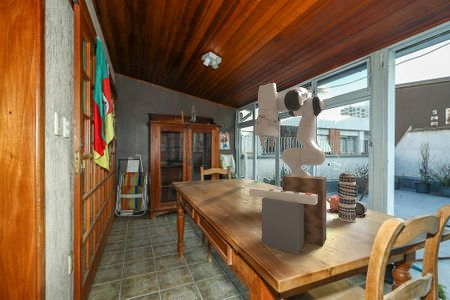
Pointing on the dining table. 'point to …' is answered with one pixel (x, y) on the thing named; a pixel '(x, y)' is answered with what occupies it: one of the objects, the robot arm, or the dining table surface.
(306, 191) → the walnut post
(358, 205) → the ceramic mug
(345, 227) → the dining table surface
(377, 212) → the dining table surface
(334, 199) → the teapot
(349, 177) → the decorative candle
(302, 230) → the dark grey block
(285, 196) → the power strip
